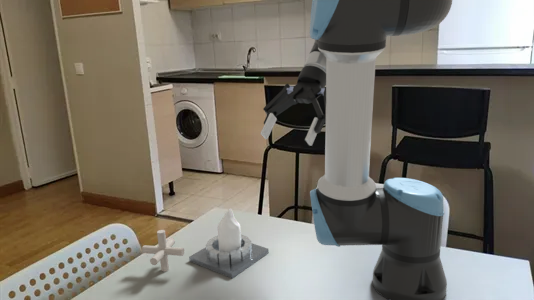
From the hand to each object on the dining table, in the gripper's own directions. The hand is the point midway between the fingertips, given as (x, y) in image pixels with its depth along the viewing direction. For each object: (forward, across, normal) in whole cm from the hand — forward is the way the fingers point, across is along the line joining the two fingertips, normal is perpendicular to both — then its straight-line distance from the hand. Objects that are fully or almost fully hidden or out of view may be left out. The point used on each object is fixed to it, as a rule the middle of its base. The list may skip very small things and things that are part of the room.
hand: (285, 139), depth 110 cm
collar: (+31, +7, -8) cm, 33 cm away
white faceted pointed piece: (+30, +7, -8) cm, 32 cm away
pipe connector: (+40, +16, +1) cm, 43 cm away
